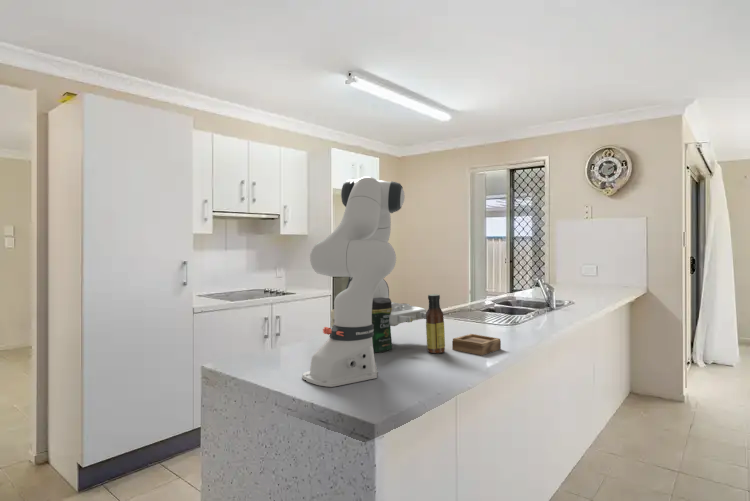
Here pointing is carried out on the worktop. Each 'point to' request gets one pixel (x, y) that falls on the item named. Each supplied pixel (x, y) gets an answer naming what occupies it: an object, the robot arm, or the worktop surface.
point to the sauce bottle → (435, 325)
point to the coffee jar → (381, 324)
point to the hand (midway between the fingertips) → (419, 318)
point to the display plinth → (476, 344)
